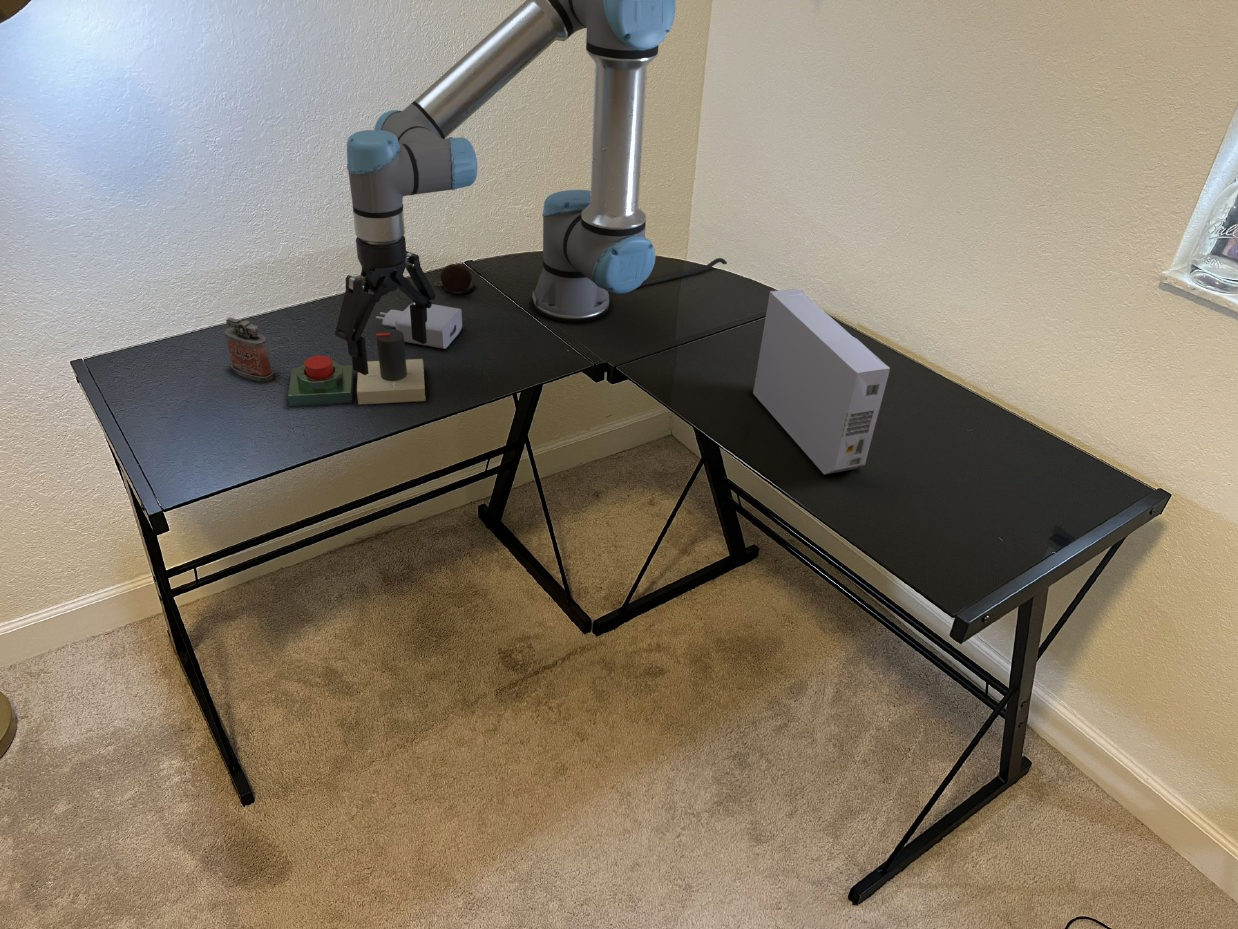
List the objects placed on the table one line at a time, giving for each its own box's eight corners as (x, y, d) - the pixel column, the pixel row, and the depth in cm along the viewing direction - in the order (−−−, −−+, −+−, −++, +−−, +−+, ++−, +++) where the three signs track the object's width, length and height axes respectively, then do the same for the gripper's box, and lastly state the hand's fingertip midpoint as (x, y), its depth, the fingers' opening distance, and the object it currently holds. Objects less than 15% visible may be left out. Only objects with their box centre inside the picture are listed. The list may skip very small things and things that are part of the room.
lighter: (277, 375, 163) (268, 323, 158) (264, 383, 161) (254, 331, 155) (241, 363, 166) (231, 311, 160) (227, 371, 163) (216, 319, 158)
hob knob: (406, 367, 163) (403, 326, 158) (407, 380, 160) (403, 339, 155) (380, 368, 162) (376, 328, 158) (380, 381, 159) (376, 340, 154)
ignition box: (353, 375, 165) (351, 355, 162) (352, 403, 158) (349, 382, 155) (293, 378, 163) (290, 358, 160) (289, 406, 156) (285, 386, 153)
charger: (389, 316, 183) (462, 328, 181) (368, 337, 176) (443, 351, 173) (387, 293, 180) (461, 306, 178) (365, 315, 173) (442, 328, 170)
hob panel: (423, 370, 167) (422, 357, 166) (425, 401, 159) (424, 387, 158) (359, 374, 165) (358, 360, 164) (358, 404, 157) (356, 391, 156)
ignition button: (334, 365, 160) (332, 354, 159) (332, 378, 157) (331, 368, 156) (307, 366, 159) (305, 356, 158) (305, 380, 156) (303, 369, 155)
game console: (781, 389, 169) (800, 287, 157) (863, 477, 149) (891, 367, 137) (752, 393, 167) (769, 291, 156) (831, 483, 147) (857, 373, 135)
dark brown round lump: (474, 282, 197) (473, 249, 193) (471, 299, 191) (470, 265, 187) (436, 280, 197) (434, 247, 192) (431, 297, 190) (429, 264, 186)
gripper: (419, 208, 157) (426, 322, 169) (300, 253, 139) (317, 377, 152) (453, 219, 153) (458, 335, 166) (335, 268, 136) (351, 393, 148)
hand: (391, 356), depth 159 cm, fingers open, 13 cm apart
